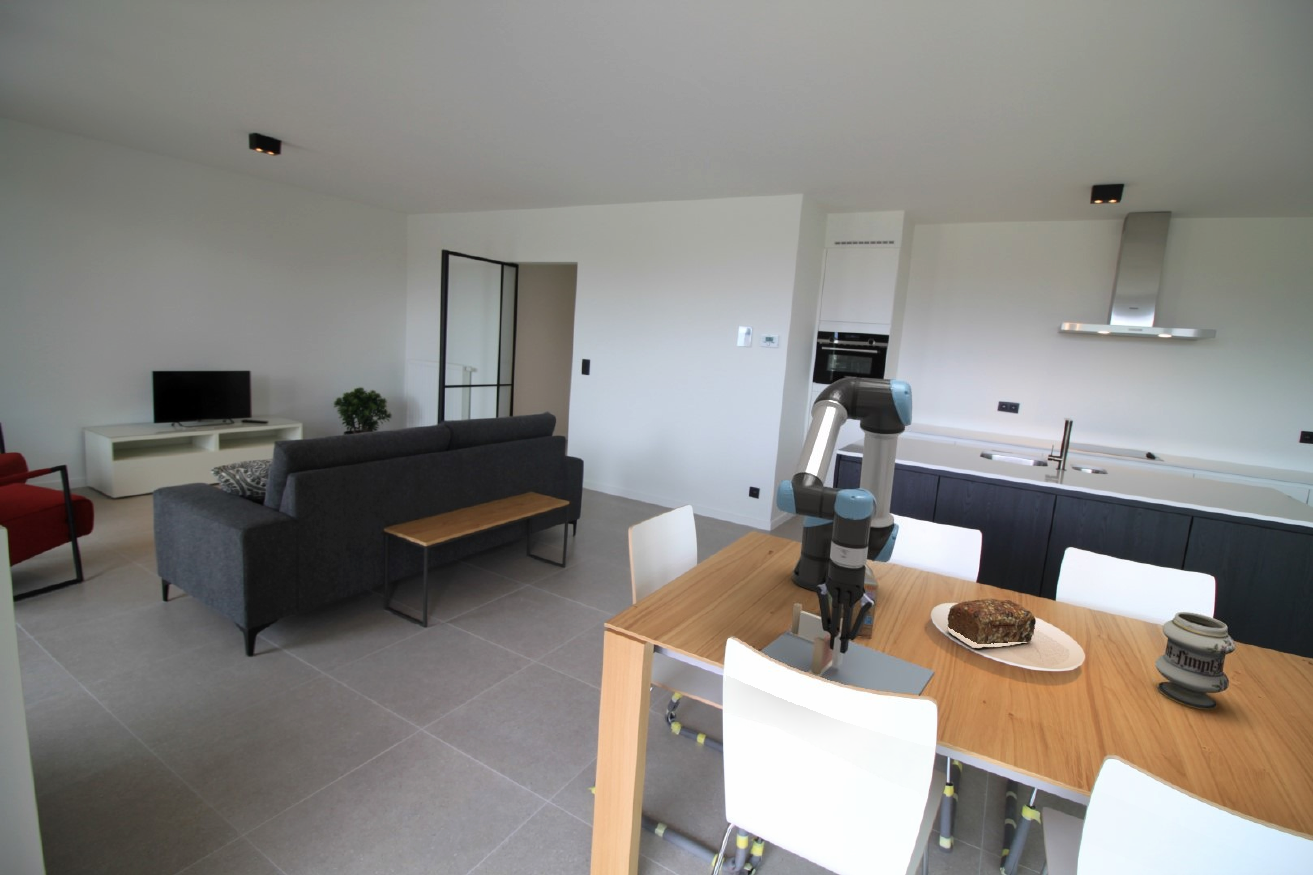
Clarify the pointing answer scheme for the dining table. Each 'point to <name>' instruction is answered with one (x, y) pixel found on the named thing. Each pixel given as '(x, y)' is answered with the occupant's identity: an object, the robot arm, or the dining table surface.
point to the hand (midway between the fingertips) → (836, 664)
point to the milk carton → (871, 592)
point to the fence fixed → (807, 624)
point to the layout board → (853, 665)
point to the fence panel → (822, 653)
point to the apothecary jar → (1194, 659)
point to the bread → (992, 621)
